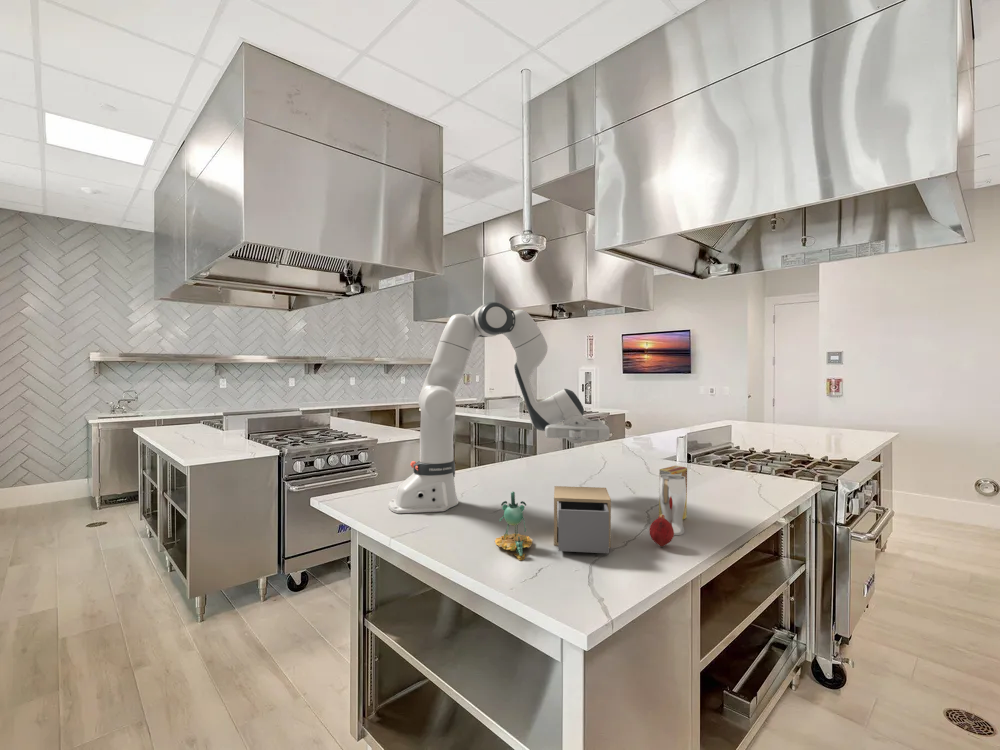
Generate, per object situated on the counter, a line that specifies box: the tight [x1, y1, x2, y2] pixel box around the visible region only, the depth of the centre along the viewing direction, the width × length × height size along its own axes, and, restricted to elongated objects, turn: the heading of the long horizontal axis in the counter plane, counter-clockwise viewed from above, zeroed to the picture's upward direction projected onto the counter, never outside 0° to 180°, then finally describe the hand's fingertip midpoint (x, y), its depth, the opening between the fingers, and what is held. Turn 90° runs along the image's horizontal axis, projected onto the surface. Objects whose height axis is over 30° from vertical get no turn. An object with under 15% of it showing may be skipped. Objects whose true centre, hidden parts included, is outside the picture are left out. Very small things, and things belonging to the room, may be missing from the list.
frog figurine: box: [494, 491, 533, 561], centre depth 118 cm, size 10×18×15 cm, turn 175°
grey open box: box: [557, 501, 610, 554], centre depth 121 cm, size 20×12×10 cm, turn 173°
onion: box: [648, 514, 675, 547], centre depth 117 cm, size 6×6×8 cm
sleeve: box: [553, 485, 612, 549], centre depth 123 cm, size 12×14×12 cm
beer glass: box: [658, 474, 686, 536], centre depth 128 cm, size 7×7×15 cm
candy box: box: [658, 465, 688, 520], centre depth 138 cm, size 9×4×15 cm, turn 129°
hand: (577, 435), depth 143 cm, fingers closed
